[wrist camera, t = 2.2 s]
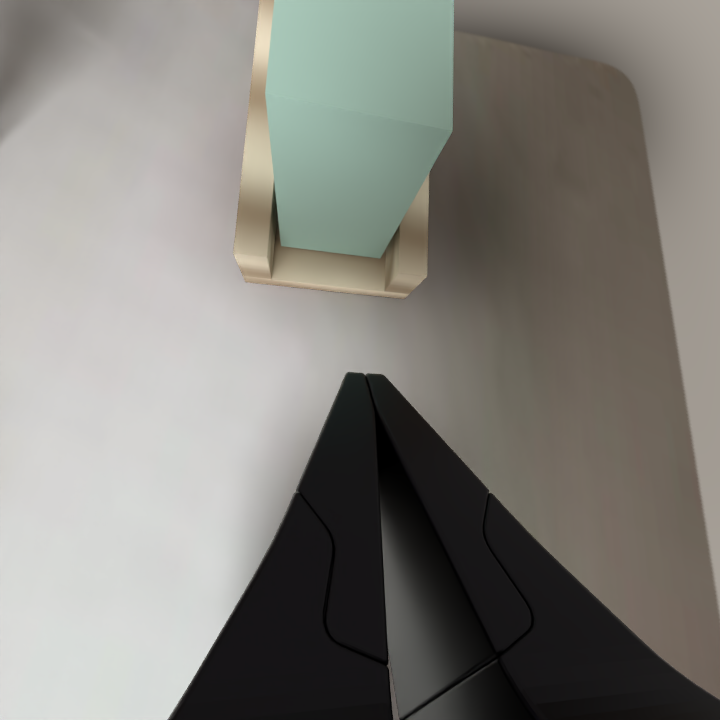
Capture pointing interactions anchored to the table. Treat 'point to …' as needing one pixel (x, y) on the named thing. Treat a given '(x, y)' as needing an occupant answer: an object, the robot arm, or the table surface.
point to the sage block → (355, 116)
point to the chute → (302, 266)
